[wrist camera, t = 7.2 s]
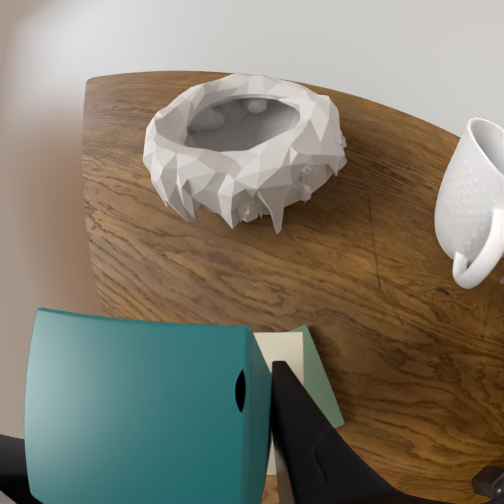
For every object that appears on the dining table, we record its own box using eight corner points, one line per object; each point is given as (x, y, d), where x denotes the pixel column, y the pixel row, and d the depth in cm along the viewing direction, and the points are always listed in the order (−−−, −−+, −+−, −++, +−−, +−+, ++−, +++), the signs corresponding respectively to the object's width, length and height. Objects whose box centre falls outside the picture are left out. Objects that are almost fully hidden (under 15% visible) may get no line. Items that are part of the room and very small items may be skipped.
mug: (473, 332, 19) (565, 276, 7) (393, 279, 23) (462, 184, 11) (493, 230, 24) (544, 162, 12) (429, 187, 28) (467, 103, 17)
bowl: (133, 191, 32) (99, 131, 23) (245, 113, 38) (237, 56, 29) (251, 298, 23) (233, 235, 15) (367, 172, 30) (386, 103, 21)
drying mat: (211, 463, 16) (209, 465, 16) (181, 365, 21) (177, 364, 20) (343, 423, 17) (345, 424, 17) (305, 326, 22) (306, 324, 21)
